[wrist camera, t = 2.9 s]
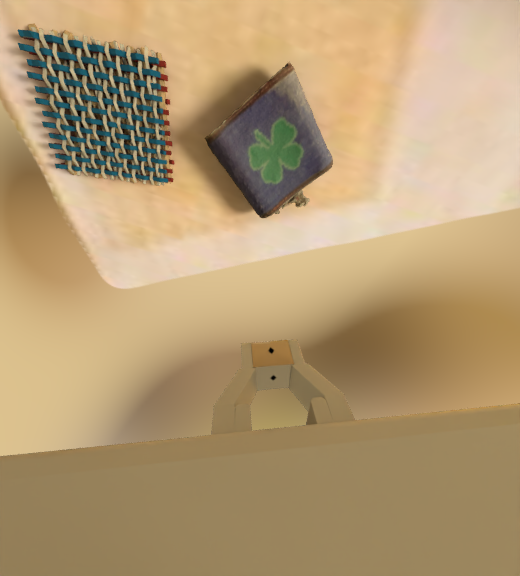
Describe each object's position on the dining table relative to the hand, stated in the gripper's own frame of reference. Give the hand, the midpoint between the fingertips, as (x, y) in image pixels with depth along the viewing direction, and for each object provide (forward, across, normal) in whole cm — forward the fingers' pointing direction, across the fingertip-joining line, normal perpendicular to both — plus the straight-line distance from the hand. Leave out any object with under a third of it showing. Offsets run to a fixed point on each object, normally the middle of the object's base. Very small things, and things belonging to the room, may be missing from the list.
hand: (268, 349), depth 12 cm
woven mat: (+19, +12, -11) cm, 25 cm away
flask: (+19, 0, -12) cm, 23 cm away
